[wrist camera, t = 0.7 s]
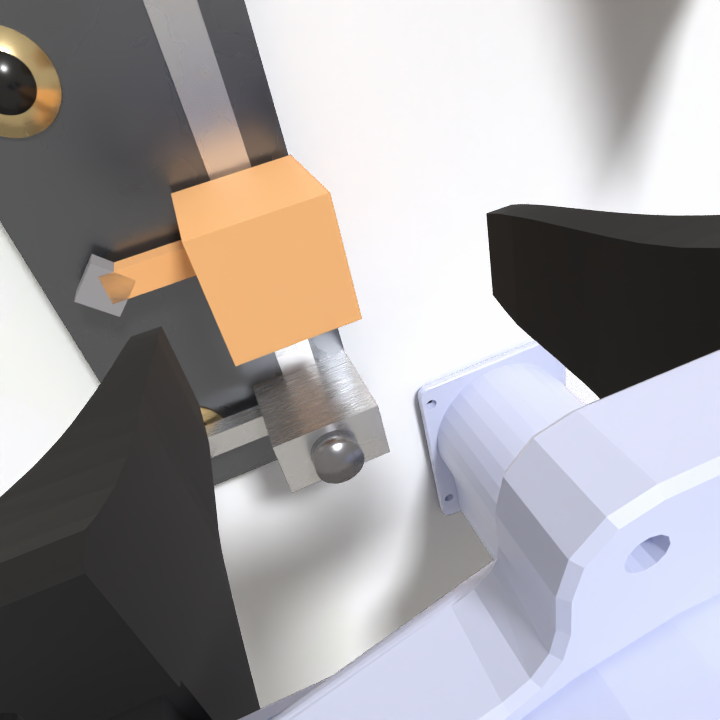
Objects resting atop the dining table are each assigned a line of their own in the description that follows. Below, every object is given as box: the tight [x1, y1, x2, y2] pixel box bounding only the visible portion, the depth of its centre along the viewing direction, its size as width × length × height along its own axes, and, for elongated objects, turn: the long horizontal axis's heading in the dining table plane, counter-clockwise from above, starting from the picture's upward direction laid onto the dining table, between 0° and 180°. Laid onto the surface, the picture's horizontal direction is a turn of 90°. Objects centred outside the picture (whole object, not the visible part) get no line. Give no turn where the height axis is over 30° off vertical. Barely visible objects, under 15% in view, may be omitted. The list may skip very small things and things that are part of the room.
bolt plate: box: [0, 0, 390, 492], centre depth 18 cm, size 21×9×6 cm, turn 13°
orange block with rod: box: [74, 155, 362, 366], centre depth 17 cm, size 4×8×4 cm, turn 103°
